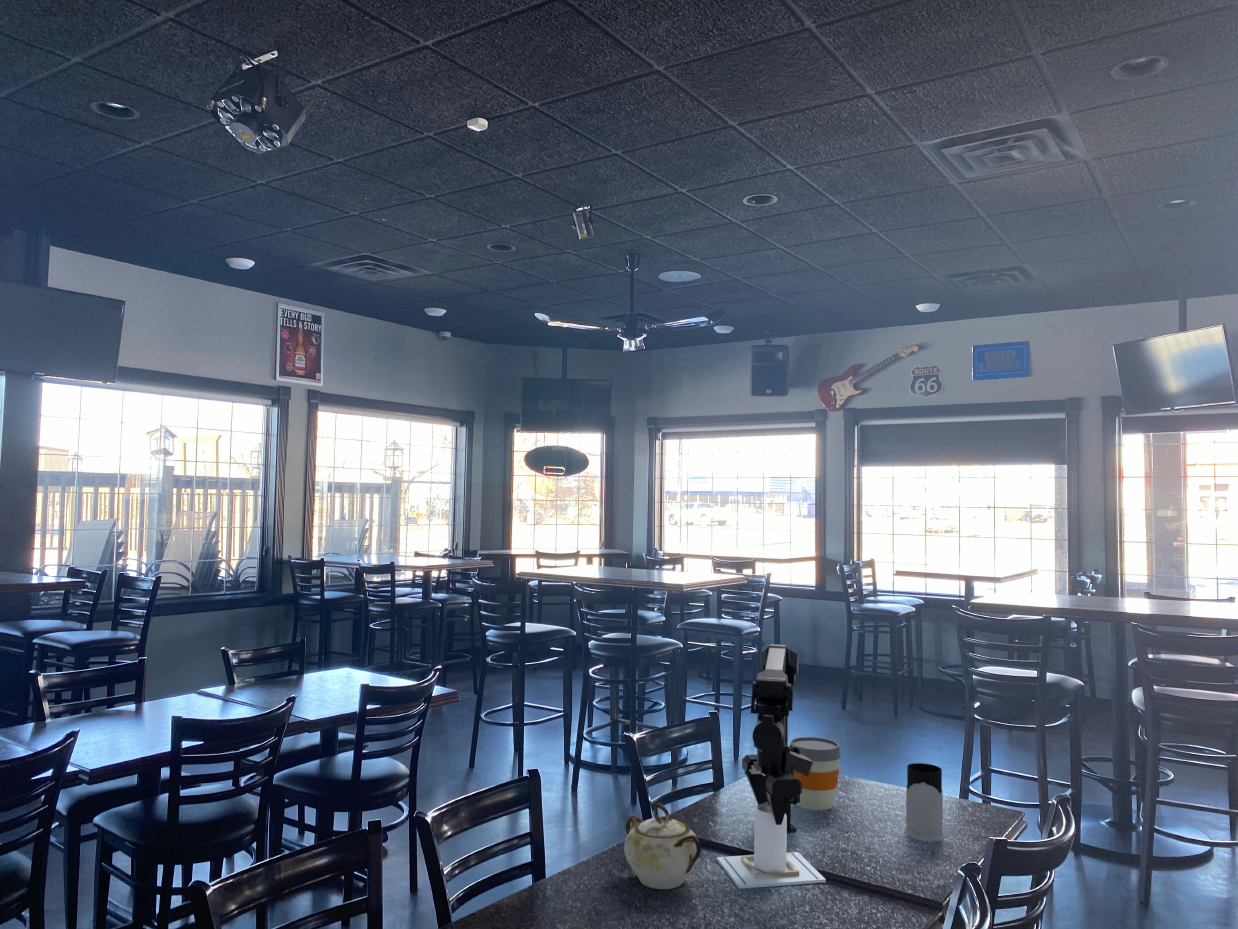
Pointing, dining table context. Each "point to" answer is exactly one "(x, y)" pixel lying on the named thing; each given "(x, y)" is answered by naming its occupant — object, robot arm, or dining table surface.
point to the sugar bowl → (661, 850)
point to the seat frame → (747, 863)
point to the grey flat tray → (748, 880)
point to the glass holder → (924, 802)
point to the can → (769, 841)
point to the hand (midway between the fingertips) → (770, 816)
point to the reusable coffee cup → (818, 772)
